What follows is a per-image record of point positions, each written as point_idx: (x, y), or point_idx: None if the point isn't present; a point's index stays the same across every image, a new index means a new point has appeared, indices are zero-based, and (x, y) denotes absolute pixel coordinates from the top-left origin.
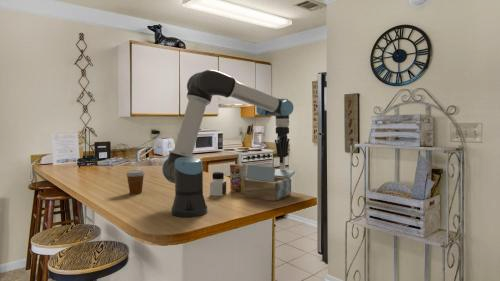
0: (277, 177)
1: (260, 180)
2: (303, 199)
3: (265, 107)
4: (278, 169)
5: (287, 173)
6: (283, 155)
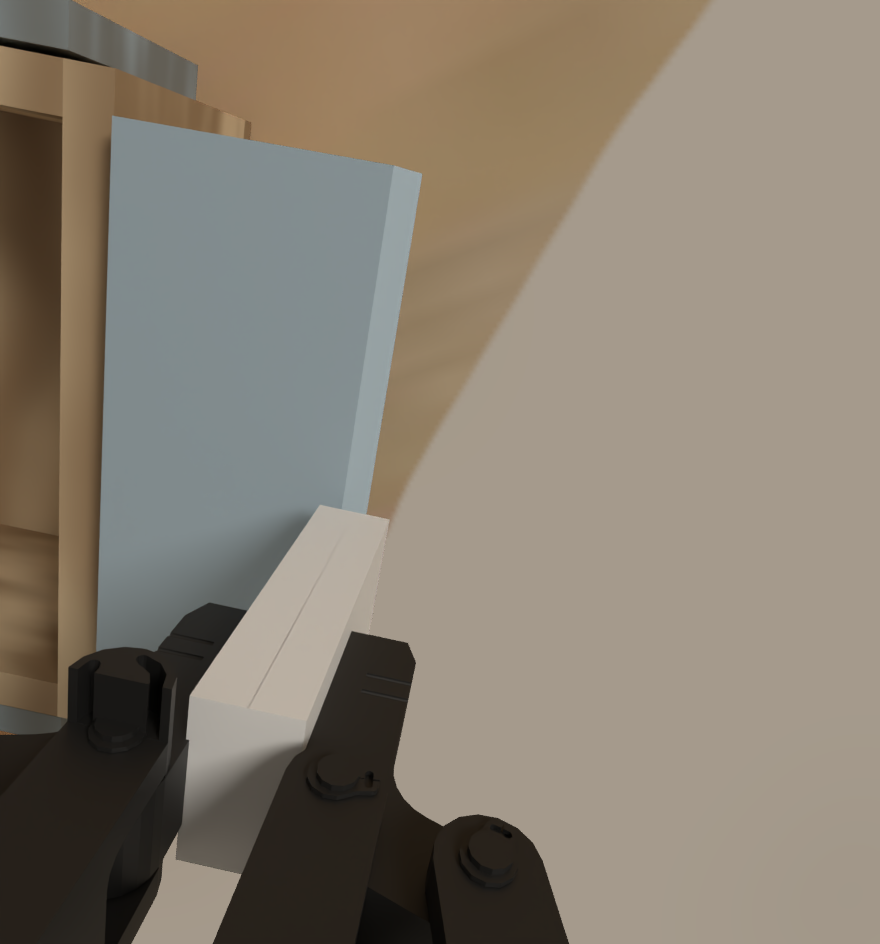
0: (59, 503)
1: (40, 115)
2: None
3: None
4: (338, 459)
5: None
6: (123, 922)
